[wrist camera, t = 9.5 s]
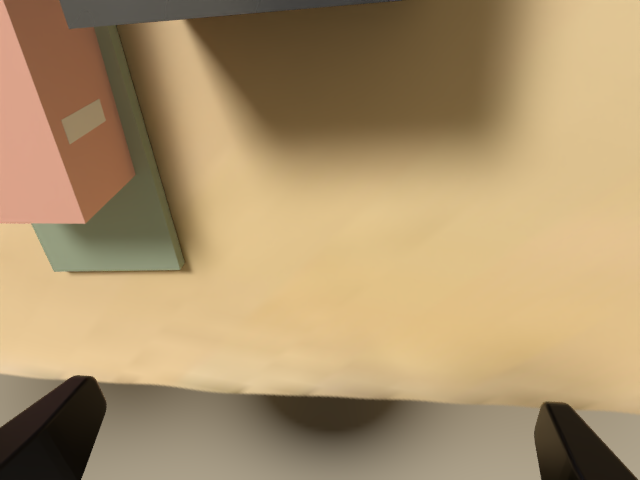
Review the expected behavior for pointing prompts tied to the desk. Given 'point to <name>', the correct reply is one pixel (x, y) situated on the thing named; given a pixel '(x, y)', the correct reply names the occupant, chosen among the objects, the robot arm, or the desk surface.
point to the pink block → (55, 119)
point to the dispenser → (177, 9)
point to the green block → (120, 197)
